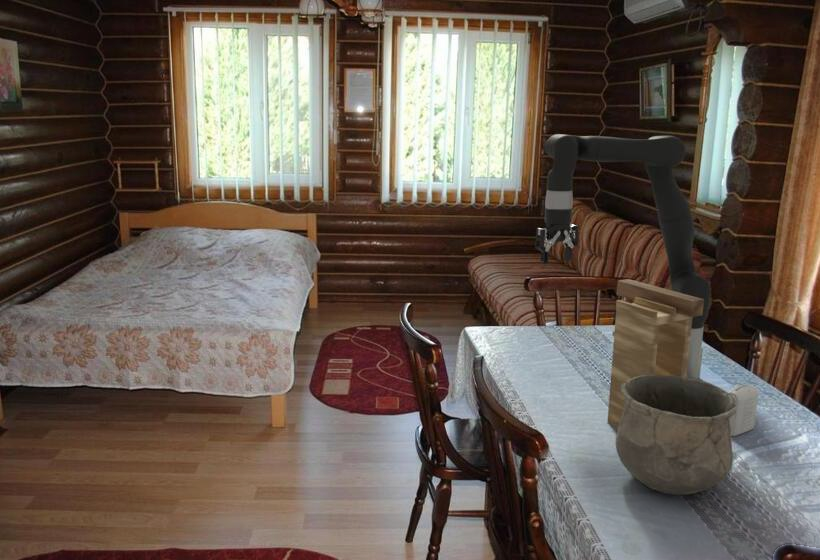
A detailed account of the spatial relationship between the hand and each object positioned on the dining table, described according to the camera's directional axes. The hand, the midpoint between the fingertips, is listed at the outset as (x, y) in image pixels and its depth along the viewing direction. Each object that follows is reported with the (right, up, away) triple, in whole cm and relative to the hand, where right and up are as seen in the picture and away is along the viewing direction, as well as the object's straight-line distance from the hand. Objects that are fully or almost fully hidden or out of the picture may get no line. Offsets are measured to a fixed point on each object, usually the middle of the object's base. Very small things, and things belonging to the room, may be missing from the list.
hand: (556, 262), depth 198 cm
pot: (+15, -50, -46) cm, 70 cm away
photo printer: (+43, -44, -20) cm, 65 cm away
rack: (+19, -43, -18) cm, 51 cm away
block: (+21, -11, -22) cm, 33 cm away
